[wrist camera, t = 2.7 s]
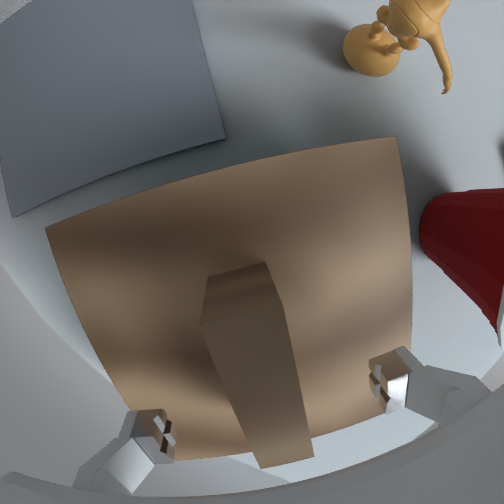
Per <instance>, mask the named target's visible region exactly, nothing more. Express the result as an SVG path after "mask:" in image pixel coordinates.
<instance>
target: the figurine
mask: <svg viewBox="0 0 504 504" xmlns="http://www.w3.org/2000/svg"><path fill="white" fill-rule="evenodd" d="M449 5H450V0H389V6H386V5H383V6H381V7H380V8H379V9H378V10H377V13H376V14H377V19H378V21H375V22H373V23H372V24H363V25H359V26H356V27H354V28H352V29H351V30H350V31H349V32H348V33H347V34H346V36H345V38H344V41H343V52H344V56H345V58H346V60H347V61H348V63H349V64H350V65H351V66H352V67H353V68H354V69H355V70H356V71H358V72H360V73H362V74H364V75H367V76H372V77H379V76H384V75H386V74H388V73H390V72H391V71H393V70H394V69H395V67H396V66H397V64H398V62H399V57H400V53H401V52H402V51H403V49H406V50H409V51H411V50H414V49H417V48H418V47H419V41H418V40H417V39H416V38H422V39H425V40H426V41H427V42H428V43H429V44H430V46H431V47H432V50H433V52H434V54H435V57H436V59H437V61H438V64H439V66H440V68H441V70H442V72H443V84H444V85H443V86H444V87H445V89H443V91H444V92H442V93H441V94H446V93H447V92H448V91H449V90H450V87H451V79H452V69H451V65H450V61H449V58H448V55H447V53H446V50H445V47H444V42H443V38H442V34H441V29H440V22H441V18H442V16H443V14H444V13H445V11H446V10H447V9H448V7H449ZM385 25H386V26H387V28H388V30H389V32H390V33H391V34H392V35H393V36H395V37H397V38H398V42H396V40H395V39H394V37H393V36H392V35H391V34H390V33H389V32H388V31H386V30H385V29H384V27H385ZM415 37H416V38H415Z"/></svg>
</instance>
